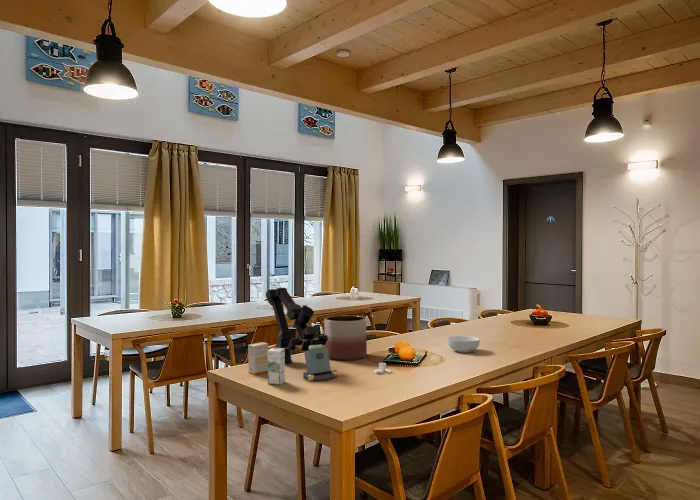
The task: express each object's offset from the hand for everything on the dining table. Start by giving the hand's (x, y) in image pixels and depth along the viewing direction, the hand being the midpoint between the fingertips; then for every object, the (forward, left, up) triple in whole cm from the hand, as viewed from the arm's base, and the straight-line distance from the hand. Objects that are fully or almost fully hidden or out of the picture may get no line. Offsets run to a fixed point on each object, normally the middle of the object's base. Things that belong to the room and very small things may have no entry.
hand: (314, 357), depth 226 cm
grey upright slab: (+4, +2, -6) cm, 7 cm away
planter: (-36, +17, -8) cm, 40 cm away
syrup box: (+11, -17, -8) cm, 21 cm away
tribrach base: (+3, +2, -8) cm, 9 cm away
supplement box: (-9, -26, -8) cm, 28 cm away
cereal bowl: (-40, +82, -8) cm, 92 cm away
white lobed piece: (-3, +28, -8) cm, 30 cm away
